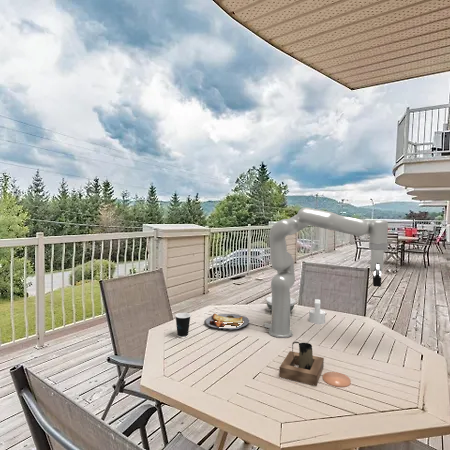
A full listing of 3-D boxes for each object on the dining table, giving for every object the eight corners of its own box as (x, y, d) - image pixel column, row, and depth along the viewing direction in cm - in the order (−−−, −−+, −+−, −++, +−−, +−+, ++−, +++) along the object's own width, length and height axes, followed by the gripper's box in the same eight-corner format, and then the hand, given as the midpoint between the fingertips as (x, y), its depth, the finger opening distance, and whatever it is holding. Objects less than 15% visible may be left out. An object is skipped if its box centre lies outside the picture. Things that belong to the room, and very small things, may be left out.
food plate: (198, 328, 173) (198, 322, 173) (212, 315, 196) (212, 310, 196) (243, 334, 166) (243, 327, 166) (252, 320, 188) (253, 314, 188)
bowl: (277, 318, 191) (277, 305, 190) (259, 310, 207) (260, 297, 207) (301, 314, 199) (301, 301, 199) (283, 306, 216) (283, 294, 216)
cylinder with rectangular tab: (325, 325, 181) (325, 304, 181) (308, 323, 184) (309, 302, 183) (325, 320, 190) (325, 300, 189) (309, 318, 192) (309, 298, 192)
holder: (279, 377, 123) (279, 367, 123) (289, 360, 137) (289, 351, 137) (316, 386, 117) (316, 375, 116) (323, 367, 131) (323, 357, 131)
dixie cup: (190, 333, 166) (191, 312, 166) (190, 339, 158) (190, 317, 158) (175, 333, 165) (175, 312, 165) (174, 339, 157) (174, 317, 157)
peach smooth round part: (320, 383, 119) (320, 381, 119) (324, 371, 128) (324, 369, 128) (349, 389, 115) (349, 388, 115) (351, 377, 124) (351, 375, 124)
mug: (311, 369, 129) (311, 340, 129) (313, 376, 124) (314, 345, 123) (291, 368, 130) (291, 339, 130) (292, 375, 124) (293, 344, 124)
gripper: (369, 244, 155) (367, 279, 156) (368, 248, 140) (367, 287, 140) (386, 245, 152) (385, 281, 153) (388, 249, 137) (386, 289, 137)
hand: (376, 284), depth 147 cm, fingers open, 9 cm apart
